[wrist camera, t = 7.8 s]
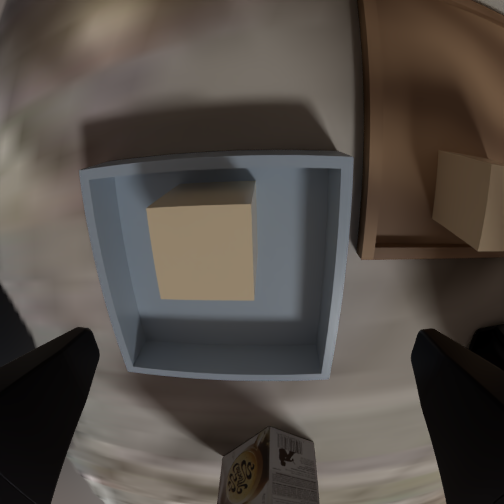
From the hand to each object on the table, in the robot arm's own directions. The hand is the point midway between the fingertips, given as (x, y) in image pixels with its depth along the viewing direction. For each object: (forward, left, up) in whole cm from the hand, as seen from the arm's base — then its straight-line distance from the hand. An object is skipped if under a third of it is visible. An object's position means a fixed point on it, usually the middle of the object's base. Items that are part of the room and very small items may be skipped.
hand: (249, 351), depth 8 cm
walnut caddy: (+7, -13, -12) cm, 19 cm away
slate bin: (-3, +3, -12) cm, 13 cm away
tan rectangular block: (0, +2, -12) cm, 12 cm away
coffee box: (-26, 0, -12) cm, 29 cm away
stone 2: (+2, -13, -12) cm, 18 cm away
